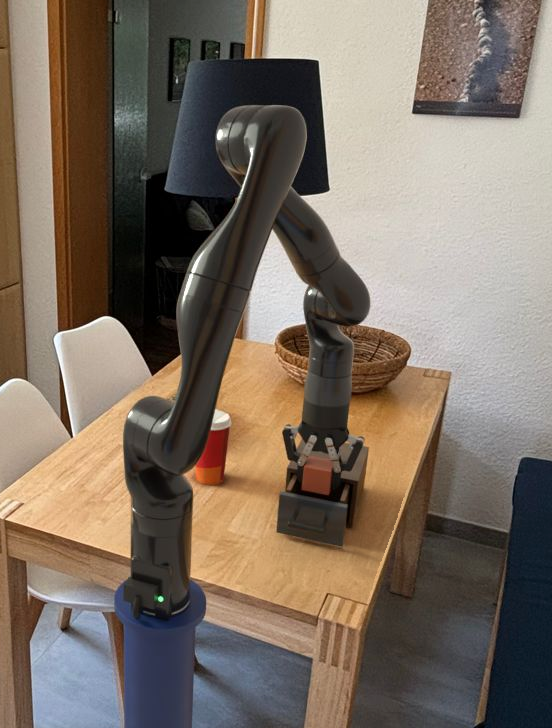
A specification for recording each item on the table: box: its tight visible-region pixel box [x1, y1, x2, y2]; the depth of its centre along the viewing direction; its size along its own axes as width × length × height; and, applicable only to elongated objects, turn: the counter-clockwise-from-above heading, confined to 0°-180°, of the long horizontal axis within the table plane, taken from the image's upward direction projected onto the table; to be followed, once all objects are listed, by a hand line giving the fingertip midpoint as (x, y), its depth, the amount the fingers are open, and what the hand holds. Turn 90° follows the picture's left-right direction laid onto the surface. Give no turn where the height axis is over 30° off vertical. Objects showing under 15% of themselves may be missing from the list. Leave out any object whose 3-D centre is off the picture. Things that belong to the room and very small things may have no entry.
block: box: [302, 456, 333, 495], centre depth 135 cm, size 5×5×5 cm
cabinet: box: [284, 438, 370, 528], centre depth 146 cm, size 15×13×10 cm
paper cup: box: [194, 408, 233, 486], centre depth 154 cm, size 8×8×14 cm
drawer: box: [275, 473, 353, 548], centre depth 137 cm, size 18×11×8 cm, turn 156°
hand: (317, 485), depth 135 cm, fingers closed on block, 4 cm apart
